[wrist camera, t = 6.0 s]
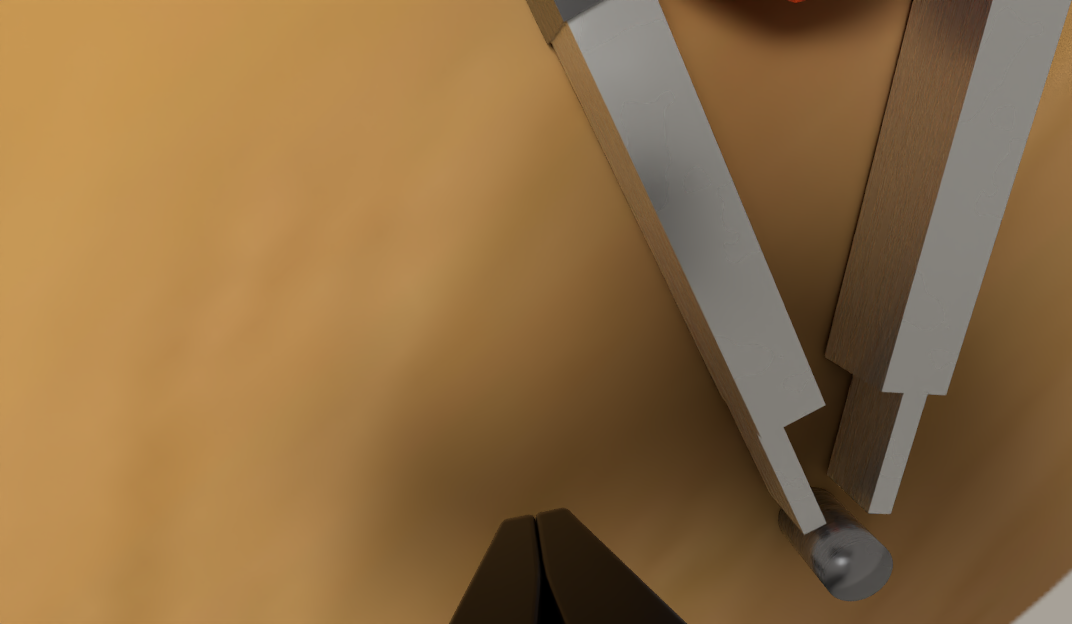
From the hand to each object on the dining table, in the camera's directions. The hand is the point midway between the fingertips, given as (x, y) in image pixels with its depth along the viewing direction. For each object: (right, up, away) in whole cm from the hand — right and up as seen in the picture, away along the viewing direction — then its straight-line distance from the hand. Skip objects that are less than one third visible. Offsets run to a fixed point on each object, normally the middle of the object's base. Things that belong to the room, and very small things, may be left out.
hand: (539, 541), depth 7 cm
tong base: (+10, +6, +8) cm, 14 cm away
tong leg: (+4, +6, +8) cm, 10 cm away
